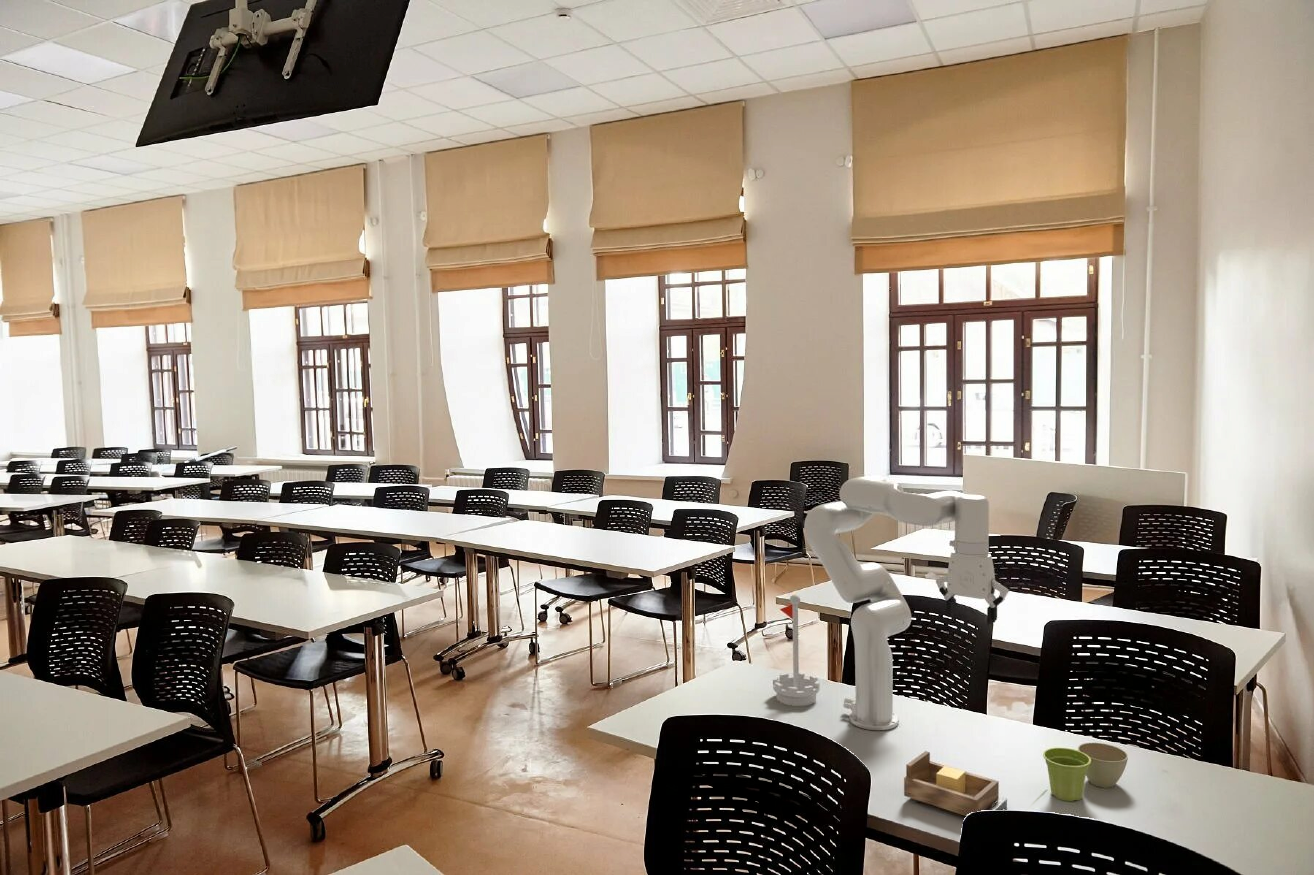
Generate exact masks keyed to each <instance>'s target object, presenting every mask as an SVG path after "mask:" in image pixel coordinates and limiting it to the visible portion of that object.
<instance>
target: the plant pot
mask: <svg viewBox="0 0 1314 875" xmlns="http://www.w3.org/2000/svg"><path fill="white" fill-rule="evenodd" d="M1042 756H1043V758H1044V760H1045V763H1046V766H1047V773H1048V779H1049V787H1050V793H1051V795H1053V796H1054V797H1055V798H1056V799H1058V800H1061V801H1066V802H1073V801H1075V800H1076V801H1080V800H1082V798H1083V792H1084V787H1085V780H1086V777H1087V776H1086V771H1087V769H1088V766H1089V765H1090V763H1091V759H1090V757H1089V756H1088V755H1086V754H1085V753H1083V752H1080V751H1078V749H1073V748H1067V747H1051V748H1048V749H1046V750H1044V751H1043V753H1042Z"/></svg>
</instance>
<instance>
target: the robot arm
mask: <svg viewBox="0 0 1314 875" xmlns="http://www.w3.org/2000/svg"><path fill="white" fill-rule="evenodd" d="M904 490H905V489H904V488H903V486H902V485H901V484H900V483H896V482H892V481H891V482H890V481H887V480H886V479H885V478H883V477H882V476H880V475H876V474H875V475H874V474H873V475H865V476H858V477H853V478H850V479H848V480H846V481H845V482H844V483H842V485H841V487H840V489H839V499H840V500H838V501H833V502H828V503H823V504H820V505H817V506H814V507H813V508H812V509H810V510H809V511H808V513H807V515H806V517H805V519H804V526H803V529H804V535H805V539H806V542H807V543H808V546H809V547H810V548H811V550H812V551H813V553H814V554H815V555H816V557H817V558H818V560H819V561H820V562H821V565H822V566H823V568H824V570H825V571H826V573H827V575H828V577H829V579H830V580H831V583H832V584H833V586H834V588H835V589H836V591H837V593H838V594H839V596H840V597H841V598H842V600H843V601H844V602H846V603H849V604H855V603H860V602H864V601H867V600H869V601H870V602H867V603H866V604H863V605H861V606H859V607H858V608H856V609H855V610H854V612H853V614H852V615H851V619H850V620H851V621H850V626H851V631H852V632H851V633H852V636H853V637H852V638H853V643H854V665H855V666H854V667H855V669H854V670H855V671H854V672H855V673H854V675H855V684H854V685H855V687H854V688H855V699H852V698H849V697H845V698H844V700H843V708H844V709H849V710H851V712H850V714H849V721H850V723H851V724H853V726H856V727H858V728H861V729H865V730H871V731H887V730H892V729H894V728H896V727H897V726H898V725H899V723H900V722H899V721H900V718H899V716H898V715H897V714H896V713H894V712H893V711H894V709H893V708H894V707H893V706H894V705H893V704H894V702H893V699H894V697H893V696H894V695H893V691H894V690H893V686H894V683H893V677H894V676H893V666H894V665H893V654H892V649H891V647H890V645H889V642H888V637H891V636H894V635H896V634H900V633H901V632H904V631H906V630H907V629H908V628H909V627H910V625H911V622H912V613H911V609H910V607H909V605H908V602H907V601H906V599H905V597H904V596H903V594H902V593H901V591H900V588H898V585H897V584H896V583H895V581H894V579H893V577H892V576H891V575H890V573H889V571H888V570H887V569H886V568H885V567H884V566H882V565H881V564H880V563H876V562H873V561H872V562H864V563H859V561H858V560H857V559H856V556H854V554H853V552H852V550H851V549H850V547H849V546H848V545H847V544H846V543H845V542H843V540H841V538H838V536H837V534H842V533H846V532H850V531H854V530H857V529H859V528H861V527H863V525H865V524H866V523H867V522H868V521H869V520H870V519H871V518H872V517H874V515H876V514H877V515H881V516H888V517H891V519H893V520H895V521H897V522H900V523H903V524H909V525H914V526H915V525H916V526H920V527H933V526H938V525H941V524H947V523H953V522H954V540H949V546H950V547H952V548H953V550H954V551H951V552H950V557H949V561H948V568H947V575H944V576H942V577H939V578H938V579H935V584H936V585H937V588H938V590H939V592H940V594H941V596H943V600H945V604H946V606H945V610H946V613H947V617H948V618H951V617H954V616H955V615H956V613H957V599H956V598H955V596H958V597H965V598H971V599H972V598H973V599H977V600H984V601H985V602H986V603H987V604H988V606H987V608H986V609H987V611H986V623H987V625H992V624H994V623H996V621H997V619H998V606H999V605H1000V604H1001V603H1003V602H1004V601H1005V599H1006V597H1007V596H1008V594H1009V593H1010V590H1009V589H1008V588H1007V587H1006V586H1004V585H1002V584H1001V583H999V582H998V581H997V580H996V576H995V567H994V562H993V558H992V555H991V553H989V547H990V545H989V543H990V542H989V538H990V537H989V533H990V532H989V530H990V529H989V527H990V526H989V525H990V519H989V517H990V516H989V514H990V511H989V510H990V504H989V499H988V498H987V497H986V496H984V495H980V494H979V495H978V494H965V493H962V492H958V491H955V490H943V491H938V492H937V491H936V492H932V493H928V494H921V493H920V494H919V493H913V492H912V493H910V492H905V491H904ZM946 582H947V583H946ZM945 583H946V585H945ZM996 591H998V592H999V595H998V596H997V597H996V596H995V595H994V594H995V593H996Z"/></svg>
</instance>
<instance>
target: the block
mask: <svg viewBox="0 0 1314 875" xmlns="http://www.w3.org/2000/svg"><path fill="white" fill-rule="evenodd" d="M947 766H948V765H945V766H944V767H943V768H942V769H941V770H940V771H939V772H938V773H936V785H937V786H940V787H943V788H946V789H949V790H953V791H956V792H959V793H962V794H964V792H965V772H966V771H965V770H962V769H959V770H958V768H955V767H952V768H950V767H951V766H949V767H947ZM954 768H955V769H954Z"/></svg>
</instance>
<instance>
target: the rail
mask: <svg viewBox="0 0 1314 875" xmlns="http://www.w3.org/2000/svg"><path fill="white" fill-rule="evenodd" d="M1007 808H1008V798H1005V797H999V800H997V801H996V802H995V803H994V804H993V805H992V806H991V807H990V808H989V809H988V810H1003V809H1005V810H1006V809H1007Z"/></svg>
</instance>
